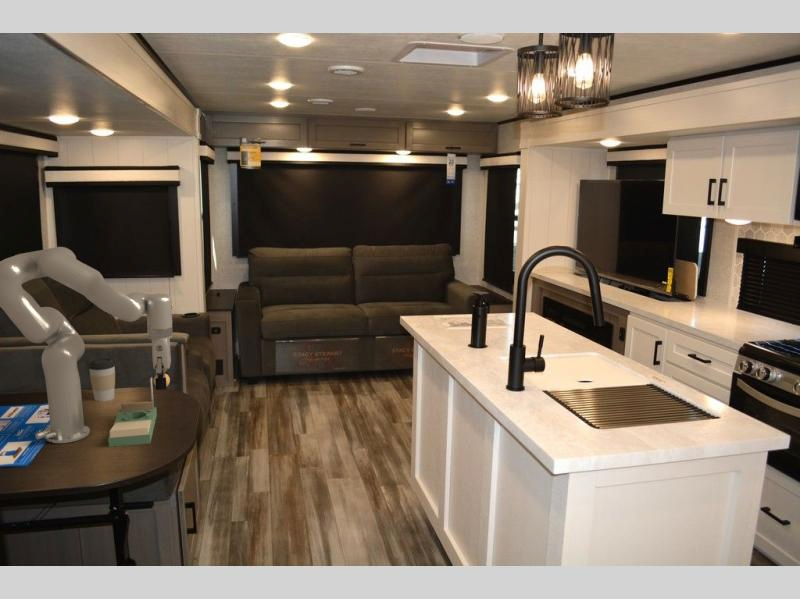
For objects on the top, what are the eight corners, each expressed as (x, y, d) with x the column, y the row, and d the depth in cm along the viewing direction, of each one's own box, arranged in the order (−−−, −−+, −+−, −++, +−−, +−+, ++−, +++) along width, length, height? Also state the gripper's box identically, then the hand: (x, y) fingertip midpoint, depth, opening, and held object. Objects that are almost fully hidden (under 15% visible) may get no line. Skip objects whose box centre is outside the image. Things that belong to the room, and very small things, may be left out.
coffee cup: (112, 392, 246) (109, 354, 243) (121, 398, 240) (118, 360, 237) (87, 397, 240) (84, 359, 237) (96, 404, 233) (93, 364, 230)
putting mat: (150, 443, 202) (147, 401, 199) (108, 447, 199) (105, 404, 196) (157, 414, 225) (154, 376, 223) (120, 416, 222) (117, 378, 219)
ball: (161, 391, 206) (160, 376, 205) (150, 388, 208) (149, 373, 207) (173, 387, 210) (173, 372, 209) (162, 384, 213) (162, 369, 212)
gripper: (170, 339, 199) (172, 394, 202) (174, 325, 215) (175, 377, 218) (144, 339, 197) (146, 396, 200) (150, 326, 213) (152, 378, 216)
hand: (161, 385), depth 209 cm, fingers closed on ball, 4 cm apart
